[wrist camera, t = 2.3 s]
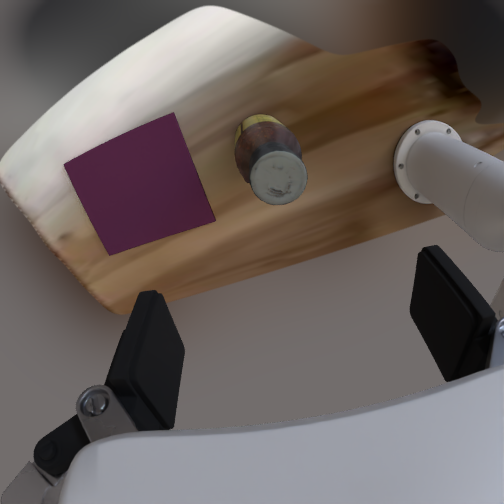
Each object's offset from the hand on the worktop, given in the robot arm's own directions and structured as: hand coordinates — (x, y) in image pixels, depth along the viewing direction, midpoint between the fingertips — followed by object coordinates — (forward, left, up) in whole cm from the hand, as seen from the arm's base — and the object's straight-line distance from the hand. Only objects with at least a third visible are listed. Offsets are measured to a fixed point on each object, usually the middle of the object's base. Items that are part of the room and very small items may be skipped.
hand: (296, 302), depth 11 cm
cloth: (+18, +4, -32) cm, 37 cm away
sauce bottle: (0, 0, -32) cm, 32 cm away
